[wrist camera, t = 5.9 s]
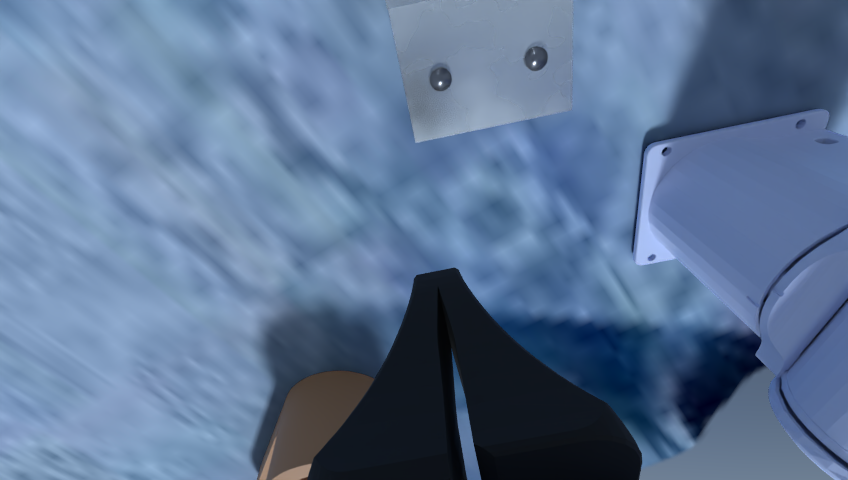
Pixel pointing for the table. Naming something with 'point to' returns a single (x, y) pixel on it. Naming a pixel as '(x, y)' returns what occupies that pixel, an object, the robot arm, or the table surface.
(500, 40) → the hinge
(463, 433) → the table surface
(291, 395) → the bracket
